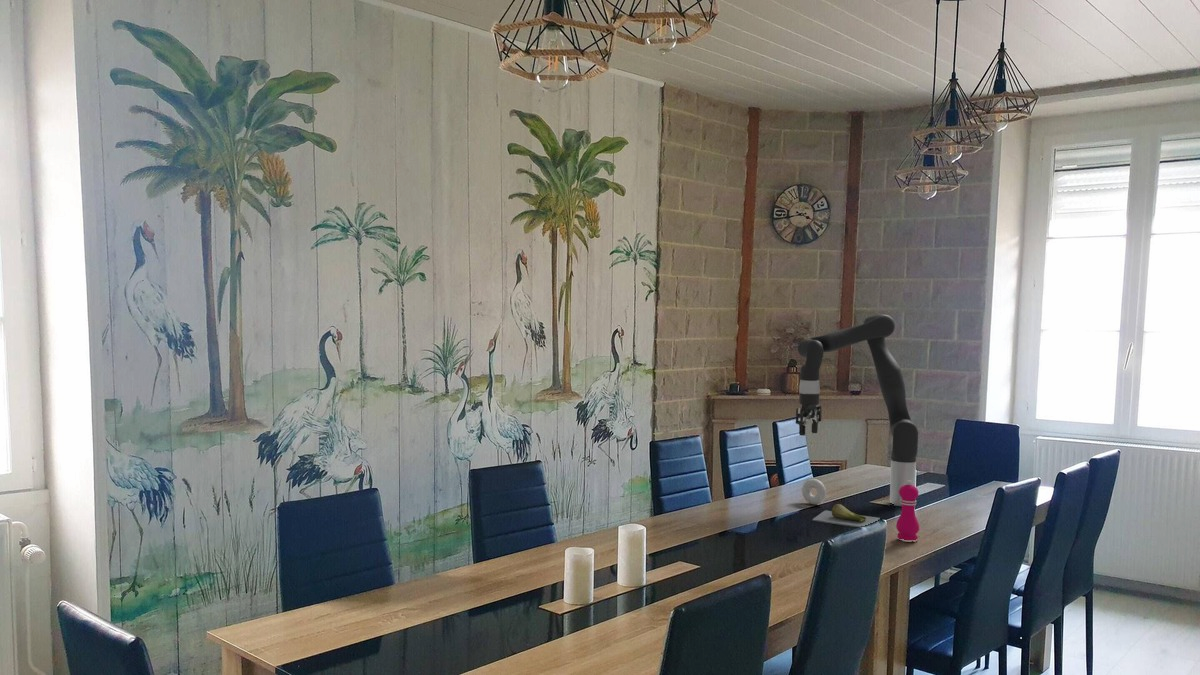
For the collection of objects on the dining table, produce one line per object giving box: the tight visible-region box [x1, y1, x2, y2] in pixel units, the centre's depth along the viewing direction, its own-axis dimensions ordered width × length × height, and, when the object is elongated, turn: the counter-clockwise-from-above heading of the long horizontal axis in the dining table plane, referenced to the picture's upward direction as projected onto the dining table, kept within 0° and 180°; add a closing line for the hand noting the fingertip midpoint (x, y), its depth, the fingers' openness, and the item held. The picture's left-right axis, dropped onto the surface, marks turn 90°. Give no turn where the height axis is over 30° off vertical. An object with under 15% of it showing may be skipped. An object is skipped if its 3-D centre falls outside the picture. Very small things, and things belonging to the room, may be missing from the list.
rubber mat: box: [812, 509, 881, 528], centre depth 304 cm, size 16×20×1 cm
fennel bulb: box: [831, 503, 866, 522], centre depth 302 cm, size 6×5×12 cm
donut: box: [801, 478, 827, 506], centre depth 327 cm, size 10×3×10 cm, turn 47°
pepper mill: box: [895, 480, 920, 540], centre depth 278 cm, size 7×7×20 cm
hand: (808, 434), depth 321 cm, fingers open, 8 cm apart
